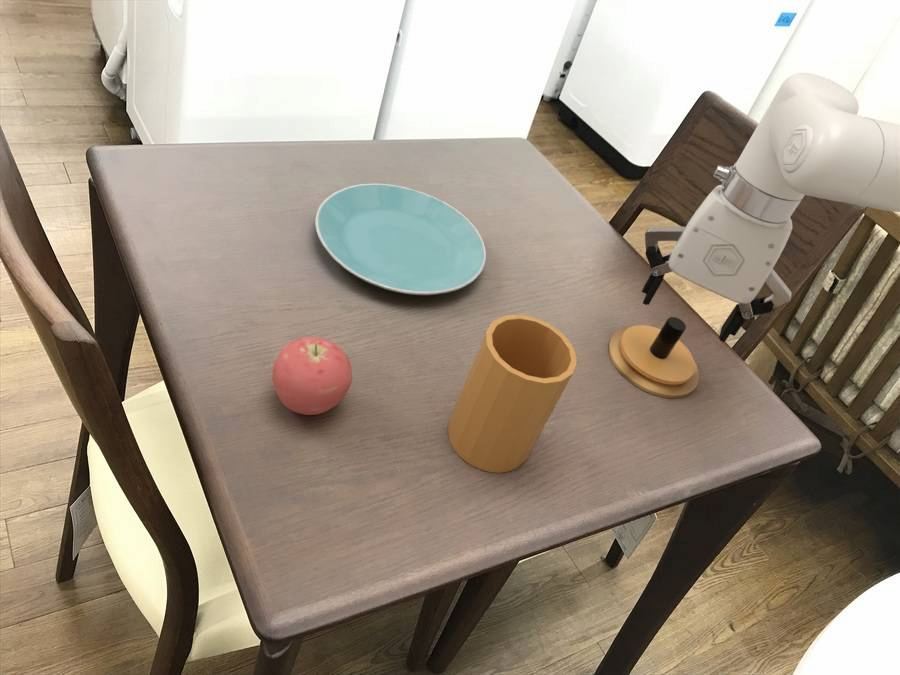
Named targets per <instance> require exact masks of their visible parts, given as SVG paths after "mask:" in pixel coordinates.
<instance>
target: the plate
mask: <svg viewBox="0 0 900 675" xmlns="http://www.w3.org/2000/svg"><path fill="white" fill-rule="evenodd" d="M314 226H315V231H316V234H317V237H318V239H319V241H320V243H321V245H322V247H323V248H324V250H325V251H326V252H327V253H328V255H330V257H331V258H332V259H333V260H334V261H335V262H336V263H337V264H339V266H341V267H342V268H343V269H344V270H346V271H347V272H349V273H350V274H352V275H353V276H355V277H357V278H359V279H361V280H362V281H364V282H366V283H368V284H370V285H373V286H375V287H378V288H381V289H384V290H387V291H391V292H395V293H400V294H405V295H413V296H415V295H416V296H433V295H435V296H436V295H443V294H448V293H452V292H455V291H459V290H461V289H463V288H465V287H467V286H469V285H470V284H472V283H473V282H474V281H475V280H476V279H477V278H478V277H479V276H480V275H481V274H482V271H483V270H484V268H485V265H486V262H487V250H486V246H485V243H484V240H483V238H482V236H481V234H480V232H479V231H478V229H477V228H476V226H475V225H474V224H473V223H472V221H470V220H469V218H467V216H466V215H464V214H463V213H462V212H460V211H459V210H458V209H456V208H455V207H454V206H452V205H450V204H448V203H447V202H445V201H443V200H441V199H440V198H437V197H435V196H433V195H430V194H428V193H425V192H422V191H421V190H415V189H413V188H410V187H405V186H401V185H396V184H389V183H373V182H372V183H361V184H354V185H350V186H347V187H344V188H341V189H339V190H337V191H335V192H332V193H331V194H330V195H328V196H327V197H326V198H325V199H324V200H323V201H322V202H321V204H320V205H319V206H318V208H317V211H316V212H315V217H314Z"/></svg>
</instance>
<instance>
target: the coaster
mask: <svg viewBox="0 0 900 675" xmlns="http://www.w3.org/2000/svg"><path fill="white" fill-rule="evenodd" d="M630 327H631V326H627V327H626V326H625V327H621V328H619V329H617V331H615V332H614V333H613V334H612V335H611V337H610V339H609V341H608V346H607V350H608V355H609V358H610V360H611V362H612V364H613V366H614V367H615V368H616V370H617V371H618V373H620V374H621V375H622V377H624V378H625V379H626V380H627V381H628V382H629V383H631V384H632V385H633V386H635V387H637V388H638V389H640V390H642V391H644V392H646V393H648V394H651V395H654V396H656V397H661V398H667V399H678V398H683V397H686V396H689V395H690V394H692V393H693V392H694V391H695V390H696V388H697V386H698V384H699V381H700V372H699V368H698V366H697V363H695V371H694V374H693V375H692V377H691V378H690V379H689V380H688V381H687V382H685V383H682V384H677V385H669V384H663V383H659V382H656V381H654V380H652V379H649V378H647V377H646V376H644V375H642V374H641V373H639V372H638V371H637V370H636V369H634V368H633V367H632V366H631V365H630V364H629V363H628V361H627V360H626V359H625V357H624V356H623V354H622V351H621V348H620V339H621V337H622V335H623V333H624V332H625V331H626V330H627V329H628V328H630Z"/></svg>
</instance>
